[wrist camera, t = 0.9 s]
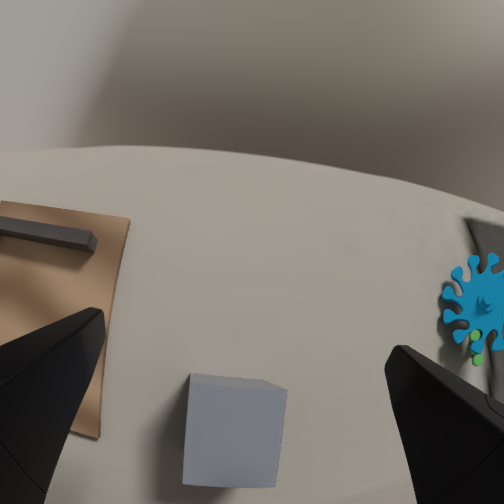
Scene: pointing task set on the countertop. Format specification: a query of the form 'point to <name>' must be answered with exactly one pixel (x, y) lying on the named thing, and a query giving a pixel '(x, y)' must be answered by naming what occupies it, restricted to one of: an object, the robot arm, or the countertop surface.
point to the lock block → (233, 432)
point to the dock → (59, 278)
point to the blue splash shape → (478, 307)
